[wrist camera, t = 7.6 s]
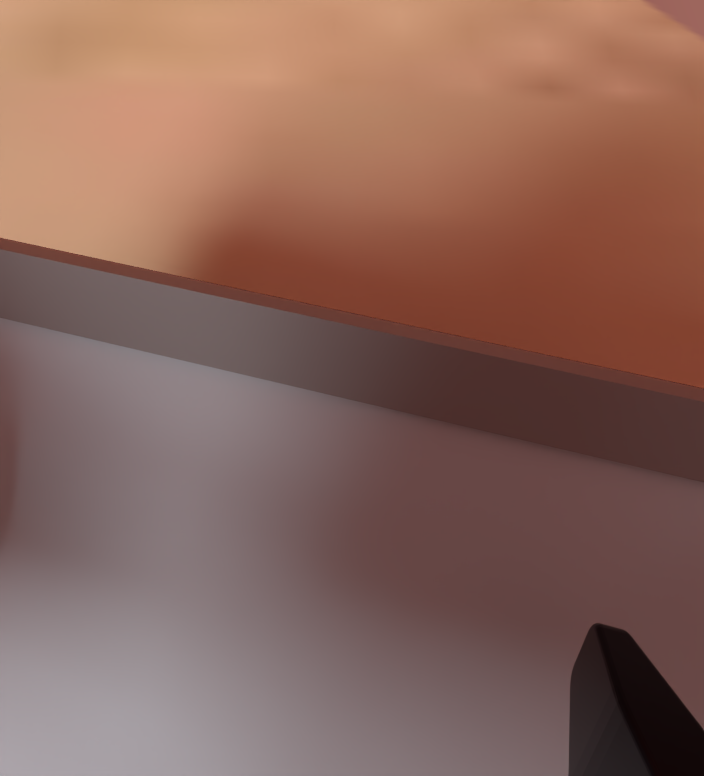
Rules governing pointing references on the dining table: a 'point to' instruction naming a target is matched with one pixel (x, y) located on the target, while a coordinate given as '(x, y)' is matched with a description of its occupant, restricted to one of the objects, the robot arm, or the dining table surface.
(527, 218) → the dining table surface
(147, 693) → the tailgate
